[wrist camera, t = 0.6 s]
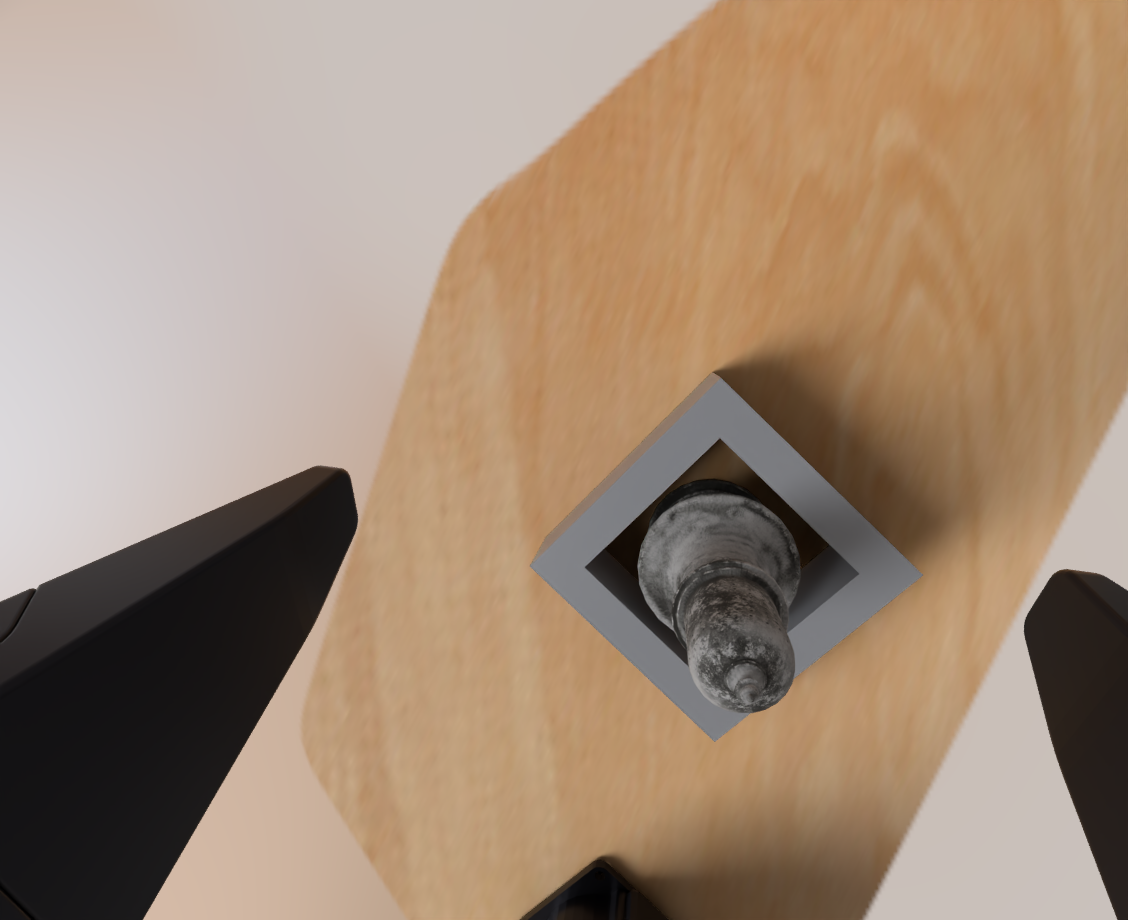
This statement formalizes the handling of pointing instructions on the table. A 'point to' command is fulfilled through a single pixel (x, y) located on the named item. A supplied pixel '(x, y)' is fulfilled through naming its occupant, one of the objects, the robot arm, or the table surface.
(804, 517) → the socket block
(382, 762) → the table surface
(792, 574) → the salt shaker
